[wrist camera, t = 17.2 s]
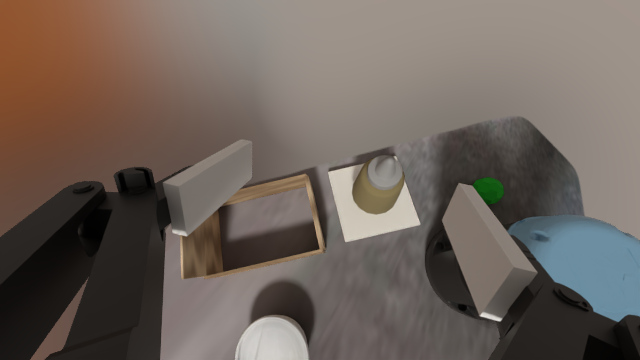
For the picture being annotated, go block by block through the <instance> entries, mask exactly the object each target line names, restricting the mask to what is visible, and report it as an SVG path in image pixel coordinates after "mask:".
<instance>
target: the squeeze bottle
mask: <svg viewBox="0 0 640 360" xmlns="http://www.w3.org/2000/svg"><path fill="white" fill-rule="evenodd" d="M404 180H405V175H404V172H403V170H402V167H401V164H400V163H399V162H398V161H397V160H396V159H395V158H394V157H393V156H386V155H382V156H377V157H376V158H372V159H370V160H369V161H367V162H366V163H365V164H364V165H363V167H362V168H361V170H360V172H359V174H358V176H357V178H356V180H355V181H354V183H353V188H352V196H353V200H354V202H355V203H356V205H357V206H358V207H359V208H360V209H361V210H363V211H365V212H366V213H370V214H376V215H377V214H382V213H386V212H387V211H389V210H390V209H391V208H393V206H394V205H395V203H396V201H397V199H398V197H399V195H400V193H401V190H402V188H403V186H404Z"/></svg>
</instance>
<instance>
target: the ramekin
mask: <svg viewBox="0 0 640 360" xmlns="http://www.w3.org/2000/svg"><path fill="white" fill-rule="evenodd" d="M235 360H309V348H308V344H307V339H306V336H305V334H304V331H303V330H302V328H301V327H300V325H299V324H298V323H297V322H296V321H295V320H294V319H292V318H290V317H287V316H284V315H267V316H264V317H261V318H259V319H257V320H255V321H254V322H253V323H251V324H250V325H249V326H248V327H247V328H246V330H245V331H244V332H243V334H242V336H241V337H240V340H239V342H238V345H237V348H236V353H235Z"/></svg>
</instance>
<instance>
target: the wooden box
mask: <svg viewBox="0 0 640 360" xmlns="http://www.w3.org/2000/svg"><path fill="white" fill-rule="evenodd" d="M302 187H307V191H308V196H309V201H310V205H311V210H312V215H313V219H314V224H315V229H316V234H317V238H318V243H319V248H320V249H319V250H315V251H311V252H306V253H302V254H298V255H294V256H289V257H285V258H281V259H277V260H272V261H268V262H264V263H260V264H255V265H251V266H247V267H243V268H238V269H234V270H230V271H226V272H223V261H222V248H221V236H220V224H219V211H218V209H217V210H216V211H215V212H214V213H213V214H212V215H211V216H209V217H208V218H207V219H206V220H205V221H204V222H203V223H202V224H201V225H199V226H198V227H197V228H196V229H195V230H194V231H193V232H192V233H191V234H189V235H188V236H183V235H180V244H181V279H188V278H196V277H204V279H209V278H216V277H222V276H227V275H231V274H235V273H239V272H244V271H248V270H252V269H256V268H261V267H265V266H269V265H273V264H278V263H282V262H286V261H291V260H295V259H299V258H303V257H308V256H312V255H316V254H320V253H325V250H326V247H325V243H324V238H323V234H322V229H321V224H320V220H319V215H318V211H317V206H316V202H315V197H314V193H313V188H312V184H311V182H310V179H309V176H307V175H306V174H302V175H298V176H294V177H290V178H286V179H281V180H277V181H273V182H269V183H265V184H260V185H256V186H252V187H248V188H243V189H239V190H238V191H237V192H236V193H235V194H234V195H233V196H232V197H230V198H229V199H228V200H227V201H226V202H225V203H224V204H223V205H222V206H226V205H230V204H234V203H238V202H243V201H247V200H251V199H255V198H260V197H264V196H268V195H272V194H276V193H281V192H285V191H289V190H293V189H298V188H302ZM222 206H221V207H222Z"/></svg>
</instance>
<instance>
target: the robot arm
mask: <svg viewBox="0 0 640 360" xmlns="http://www.w3.org/2000/svg"><path fill="white" fill-rule="evenodd" d="M114 178H115V182H116V185H117V188H118V191H119V192H105V189H104V186H103V184H102V183H100V182H95V181H89V182H88V181H84V182H81V183H80V182H78V183H75V184H73V185H70V186H68V187H66V188H64V189H63V190H62V191H60V192H59V193H58V194H56V195H55V196H54V197H52V198H51V199H50V200H48V201H47V202H46V203H44V204H43V205H42V206H40V207H39V208H38V209H37V210H35V211H34V212H33V213H32V214H30V215H29V216H27V217H26V218H25V219H23V220H22V221H21V222H19V223H18V224H17V225H15V226H14V227H13V228H12V229H10V230H9V231H8V232H6V233H5V234H4V235H2V236H1V237H0V360H30V359H31V357H32V356H33V355H34V353H35V352H36V350H37V349H38V348H39V346H40V345H41V343H42V342H43V341H44V339H45V338H46V336H47V335H48V333H49V332H50V331H51V329H52V328H53V326H54V325H55V323H56V322H57V321H58V319H59V318H60V317H61V315H62V314H63V312H64V311H65V309H66V308H67V307H68V305H69V304H70V302H71V301H72V300H73V298H74V297H75V295H76V294H77V293H78V291H79V290H80V288H81V287H82V285H83V284H84V283H85V281H86V280H87V278H88V277H89V278H88V281H87V284H86V287H85V290H84V292H83V295H82V298H81V301H80V304H79V307H78V309H77V313H76V315H75V318H74V321H73V324H72V326H71V329H70V332H69V335H68V338H67V341H66V344H65V345H64V347H63V349H62V350H61V351H58V352H55V353H52V354H50V355H49V356H48V357H47V358H46V359H45V360H160V349H161V327H162V305H163V283H164V261H165V239H166V233H165V229H164V228H165V227H166V226H167V225H169V224H170V223H171V226H172V231H173V233H176V234H179V235H183V236H188V235H189V234H191V233H192V232H193V231H194V230H195V229H196V228H197V227H198V226H199V225H201V224H202V223H203V222H204V221H205V220H206V219H207V218H208V217H209V216H211V215H212V214H213V213H214V212H215V211H216V210H217V209H218V208H219V207H221V206H222V205H223V204H224V203H225V202H226V201H227V200H228V199H229V198H230V197H232V196H233V195H234V194H235V193H236V192H237V191H238V190H239V189H240V188H242V187H243V186H244V185H245V184H246V183H247V182H248V181H249V180H250V179H251V178H252V141H247V140H242V139H241V140H239V141H237V142H235V143H234V144H232V145H230V146H228V147H226V148H224V149H223V150H221V151H219V152H217V153H215V154H214V155H212V156H210V157H208V158H206V159H205V160H203V161H201V162H199V163H197V164H195V165H192V166H188V167H185V168H183V169H181V170H179V171H178V172H176V173H174V174H172V175H171V176H168V177H166V178H164V179H163V180H161V181H159V182H157V183H154V178H153V174H152V171H151V170H150V169H149V168H144V167H134V168H127V169H123V170H120V171H118V172H116V173H115V174H114ZM442 222H443V225H444V227H445V229H443V230H442V231H440V232H439V233H438V234H437V235H436V236H435V237H434V238H433V239H432V241H431V242H430V244H429V246H428V249H427V253H426V260H425V264H426V272H427V276H428V279H429V281H430V284H431V286H432V288H433V289H434V291H435V292H436V294H437V295H438V296H439V297H440V299H441V300H442V301H443V302H444V303H446V304H447V305H448V306H449V307H451V308H452V309H454V310H455V311H457V312H459V313H462V314H464V315H466V316H469V317H471V318H475V319H480V320H496V322H497V326H498V329H499V333H500V338H499V339H500V342H499V343H498V345H497V346H496V348H495V350H494V351H493V353H492V354H491V356H490V358H489V359H488V360H640V240H638V239H637V238H635V237H634V236H632V235H630V234H628V233H624V232H622V231H620V230H618V229H617V228H616V227H615V226H613V225H611V224H609V223H606V222H604V221H601V220H597V219H594V218H590V217H585V216H579V215H555V216H548V217H545V216H538V217H529V218H525V219H523V220H521V221H518V222H515V223H511V224H506V225H502V224H501V223H500V222H499V220H498V219H497V218H496V216H495V215H494V214H493V213H492V211H491V210H490V209H489V207H488V206H487V205H486V203H485V202H484V201H483V199H482V198H481V197H480V195H479V194H478V193H477V191H476V190H475V189H474V187H473V186H471V185H466V184H461V183H458V185H457V188H456V190H455V192H454V194H453V197H452V199H451V201H450V203H449V206H448V208H447V210H446V212H445V215H444V217H443V219H442Z"/></svg>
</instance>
